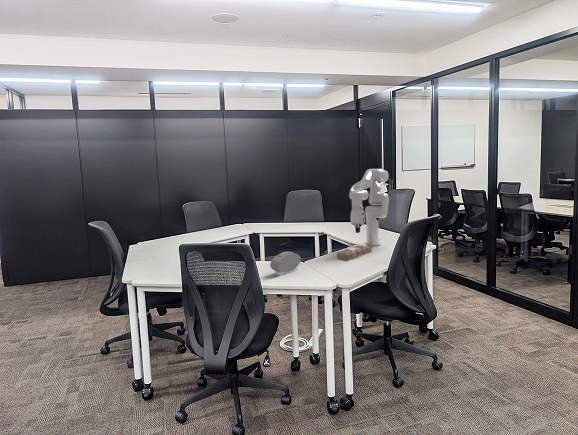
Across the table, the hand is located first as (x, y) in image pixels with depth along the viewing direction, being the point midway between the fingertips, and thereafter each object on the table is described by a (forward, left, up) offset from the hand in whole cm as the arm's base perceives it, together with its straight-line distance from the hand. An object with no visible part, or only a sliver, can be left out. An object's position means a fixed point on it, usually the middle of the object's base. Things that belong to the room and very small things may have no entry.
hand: (357, 232), depth 316 cm
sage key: (-2, +2, -13) cm, 13 cm away
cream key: (+14, +2, -13) cm, 19 cm away
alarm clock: (+72, -11, -16) cm, 74 cm away
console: (+9, +2, -15) cm, 18 cm away
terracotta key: (+6, +2, -14) cm, 15 cm away
